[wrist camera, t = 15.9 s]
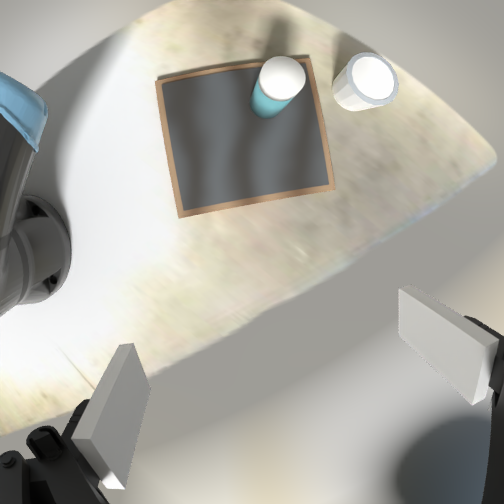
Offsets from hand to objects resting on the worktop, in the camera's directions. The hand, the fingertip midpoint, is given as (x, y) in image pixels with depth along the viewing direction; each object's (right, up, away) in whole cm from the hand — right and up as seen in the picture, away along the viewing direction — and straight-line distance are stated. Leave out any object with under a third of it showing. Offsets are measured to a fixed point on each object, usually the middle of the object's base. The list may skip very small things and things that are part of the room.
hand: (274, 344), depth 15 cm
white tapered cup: (+12, +26, +23) cm, 37 cm away
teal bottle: (+1, +22, +21) cm, 31 cm away
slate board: (-2, +19, +23) cm, 30 cm away
